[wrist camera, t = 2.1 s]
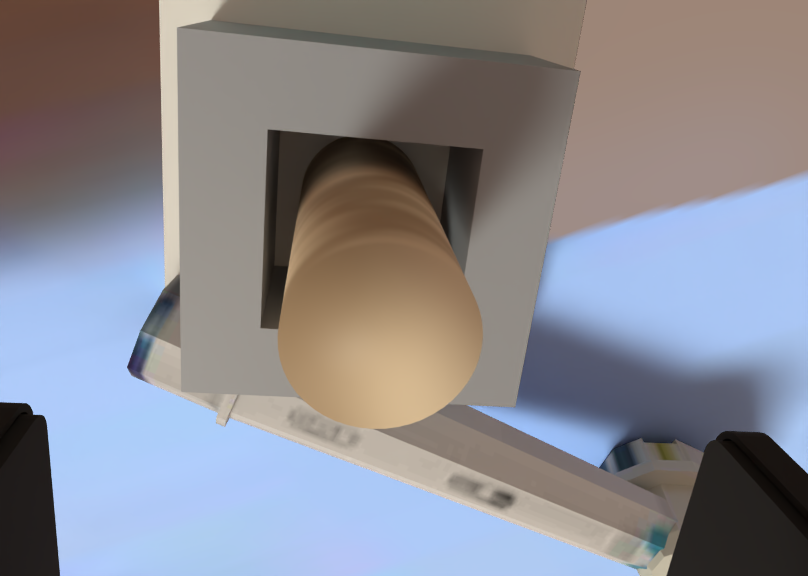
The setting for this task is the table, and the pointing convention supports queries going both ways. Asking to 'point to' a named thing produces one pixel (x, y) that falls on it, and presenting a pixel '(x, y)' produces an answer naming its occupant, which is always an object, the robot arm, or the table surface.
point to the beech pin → (374, 293)
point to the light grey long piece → (471, 460)
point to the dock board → (363, 118)
